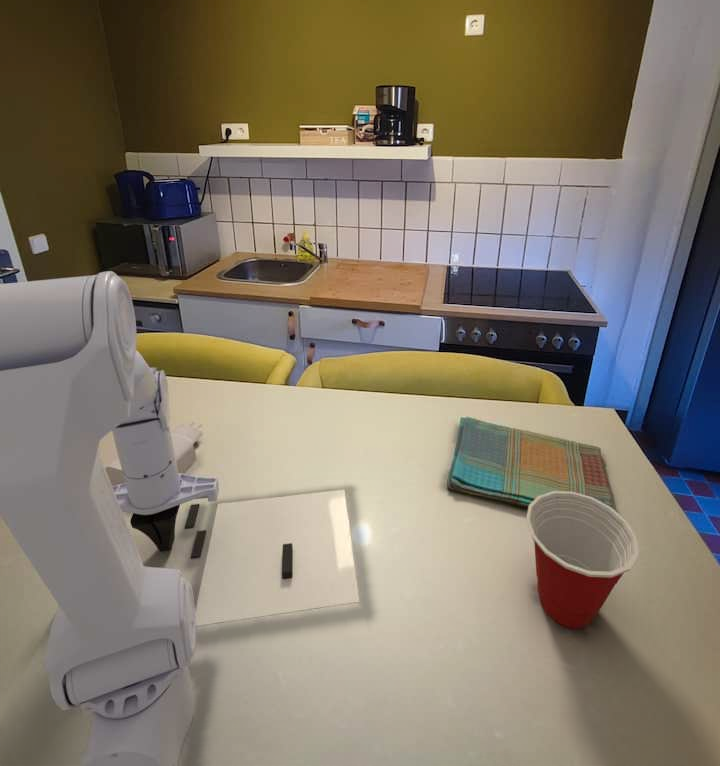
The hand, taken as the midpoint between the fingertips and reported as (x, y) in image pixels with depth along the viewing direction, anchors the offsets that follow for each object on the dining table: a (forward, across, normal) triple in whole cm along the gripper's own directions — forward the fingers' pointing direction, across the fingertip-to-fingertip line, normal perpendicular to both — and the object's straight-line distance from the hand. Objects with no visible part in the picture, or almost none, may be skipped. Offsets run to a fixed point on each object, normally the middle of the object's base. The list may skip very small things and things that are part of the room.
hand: (167, 544), depth 56 cm
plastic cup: (+2, -48, +13) cm, 49 cm away
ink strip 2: (+1, -4, 0) cm, 5 cm away
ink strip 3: (+1, -16, +4) cm, 16 cm away
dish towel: (+2, -54, -7) cm, 54 cm away
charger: (+2, +5, -17) cm, 18 cm away
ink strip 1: (+1, -1, -5) cm, 5 cm away
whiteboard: (+2, -14, +2) cm, 15 cm away
